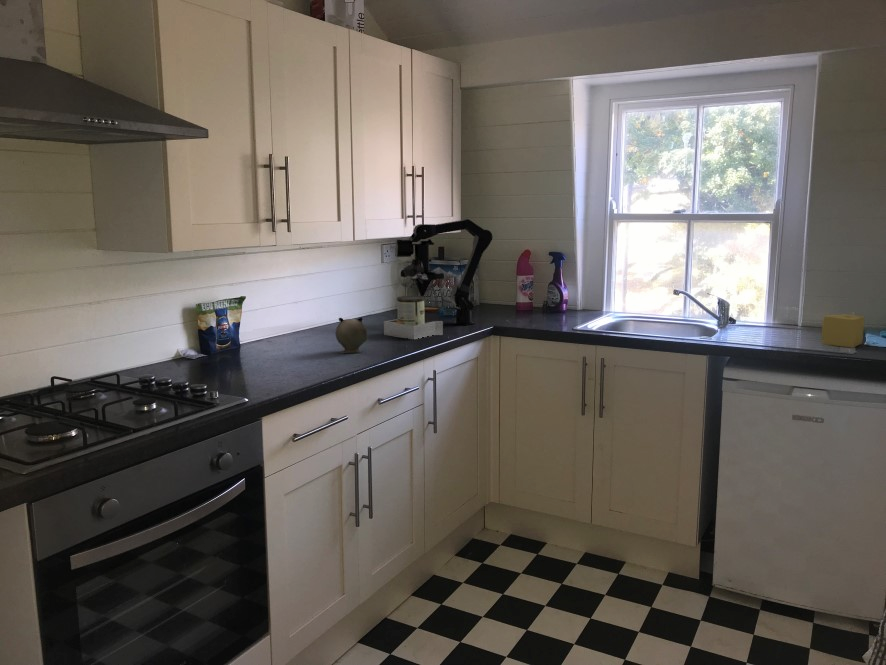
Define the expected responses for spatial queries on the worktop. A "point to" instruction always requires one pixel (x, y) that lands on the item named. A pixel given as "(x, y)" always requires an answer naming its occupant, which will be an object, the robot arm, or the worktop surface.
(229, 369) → the worktop surface
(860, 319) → the cheese
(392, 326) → the grey bent block
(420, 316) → the coffee can
